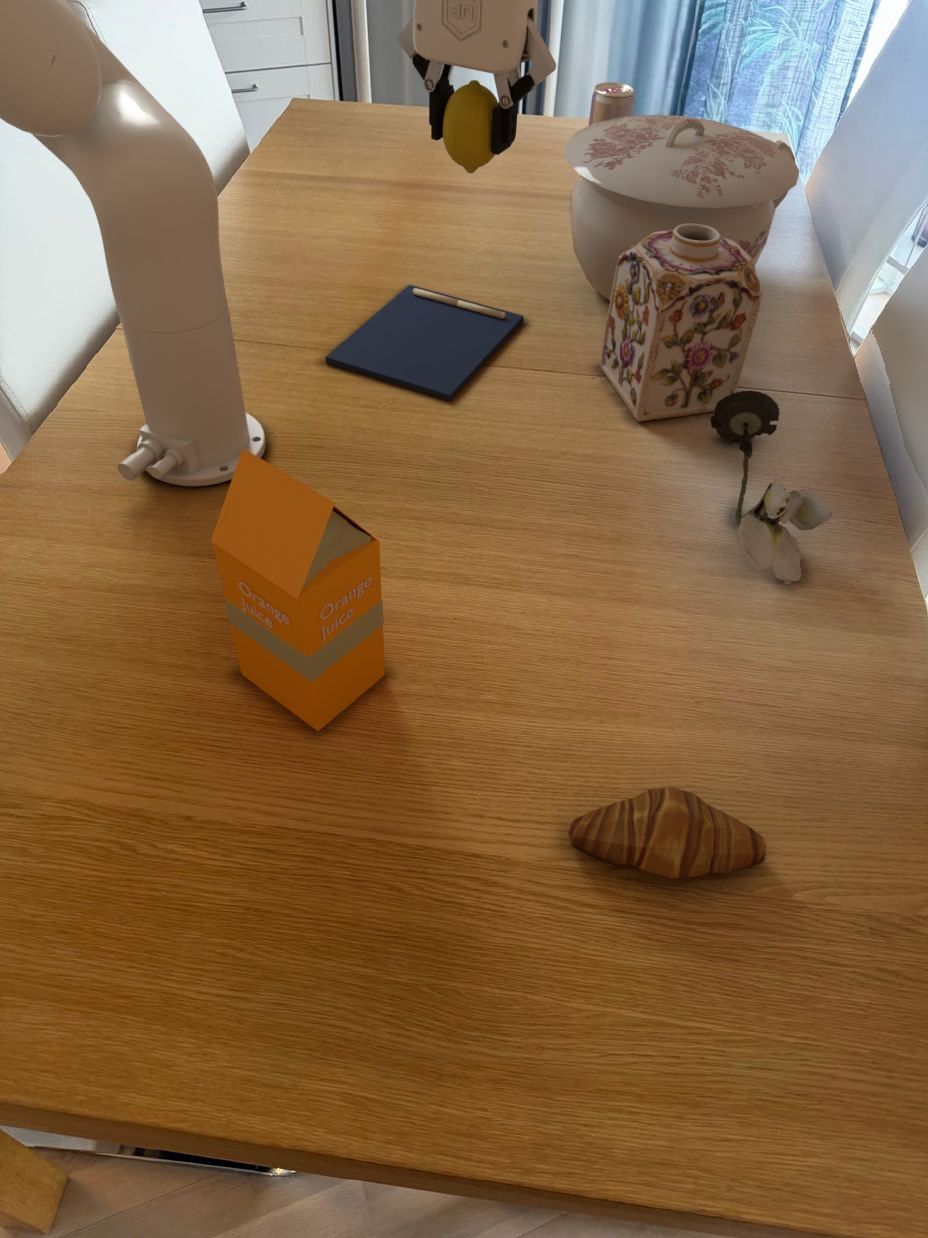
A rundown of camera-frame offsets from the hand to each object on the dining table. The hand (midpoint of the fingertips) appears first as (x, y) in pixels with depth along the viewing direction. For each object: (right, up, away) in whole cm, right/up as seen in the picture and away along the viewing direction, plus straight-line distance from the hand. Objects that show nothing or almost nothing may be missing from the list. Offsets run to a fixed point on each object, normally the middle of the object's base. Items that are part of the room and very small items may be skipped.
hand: (471, 140), depth 87 cm
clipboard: (-5, -12, +23) cm, 27 cm away
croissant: (+13, -61, -22) cm, 66 cm away
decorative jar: (+22, -19, +18) cm, 34 cm away
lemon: (0, -2, +2) cm, 3 cm away
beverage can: (+20, +19, +54) cm, 61 cm away
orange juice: (-13, -49, -12) cm, 52 cm away
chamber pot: (+24, -2, +34) cm, 42 cm away
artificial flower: (+28, -34, +4) cm, 44 cm away
